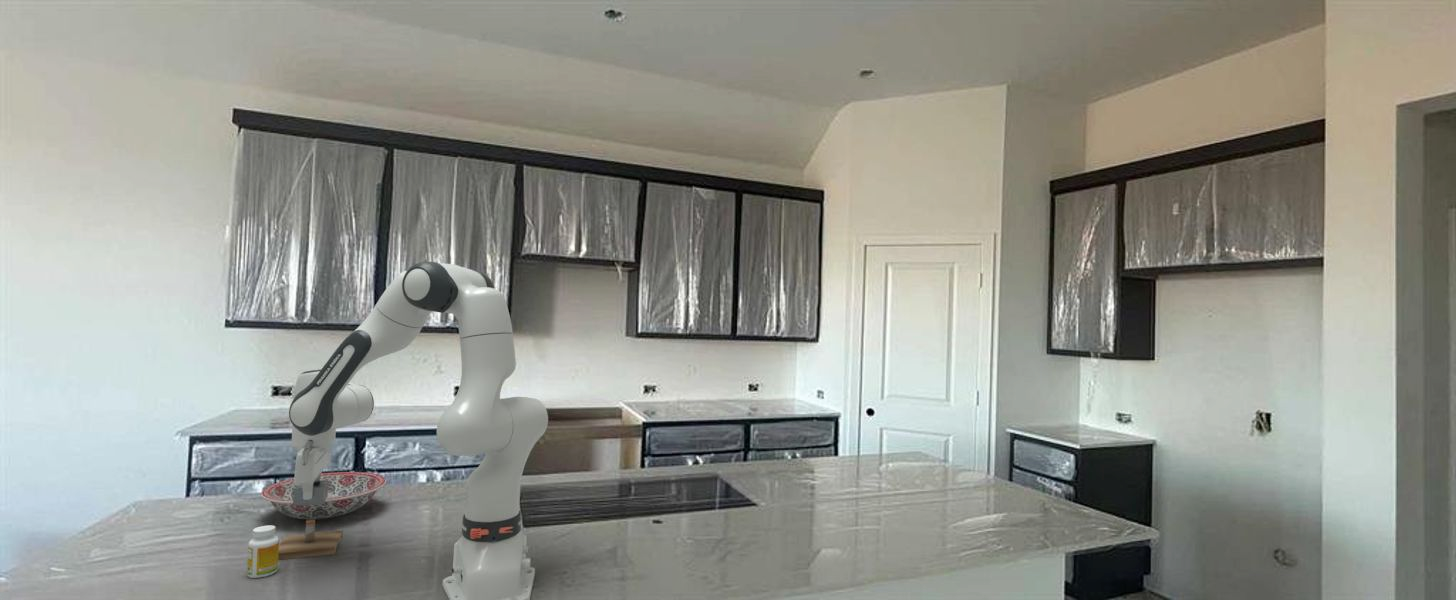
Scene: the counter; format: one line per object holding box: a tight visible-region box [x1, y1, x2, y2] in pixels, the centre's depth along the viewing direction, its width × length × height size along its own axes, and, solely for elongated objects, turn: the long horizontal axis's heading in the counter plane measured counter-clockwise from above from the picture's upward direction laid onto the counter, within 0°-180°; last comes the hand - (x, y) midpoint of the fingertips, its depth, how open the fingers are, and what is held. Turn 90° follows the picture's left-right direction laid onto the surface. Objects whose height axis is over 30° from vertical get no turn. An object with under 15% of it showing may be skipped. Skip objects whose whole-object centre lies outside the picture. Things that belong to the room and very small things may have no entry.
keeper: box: [278, 519, 344, 561], centre depth 152 cm, size 12×12×6 cm
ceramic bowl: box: [260, 471, 387, 520], centre depth 176 cm, size 29×29×8 cm
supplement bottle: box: [246, 524, 280, 579], centre depth 138 cm, size 5×5×10 cm
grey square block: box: [293, 480, 328, 506], centre depth 152 cm, size 6×6×4 cm
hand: (311, 494), depth 152 cm, fingers closed on grey square block, 6 cm apart
